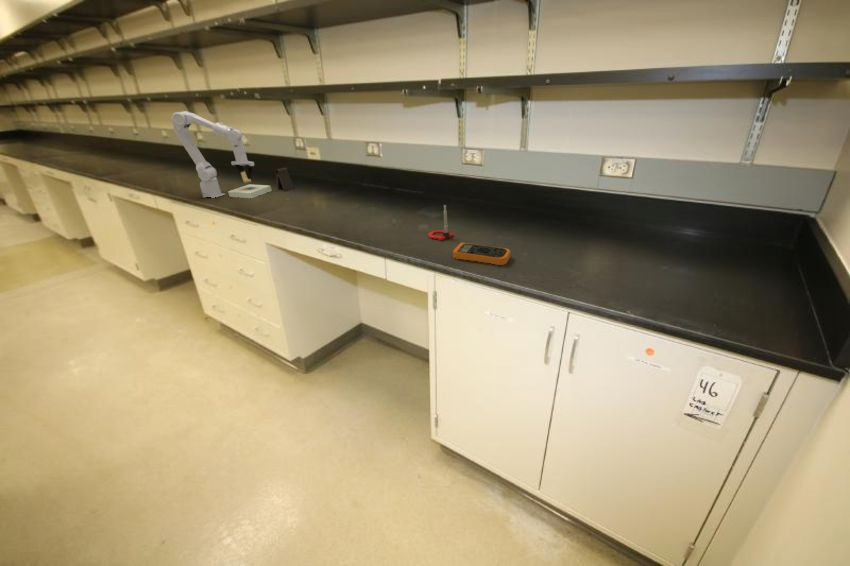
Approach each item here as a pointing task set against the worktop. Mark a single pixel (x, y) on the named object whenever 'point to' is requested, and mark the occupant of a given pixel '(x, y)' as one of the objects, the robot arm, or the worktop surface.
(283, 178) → the phone stand
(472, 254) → the multimeter
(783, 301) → the worktop surface
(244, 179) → the cylinder
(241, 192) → the plate
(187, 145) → the robot arm
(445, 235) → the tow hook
